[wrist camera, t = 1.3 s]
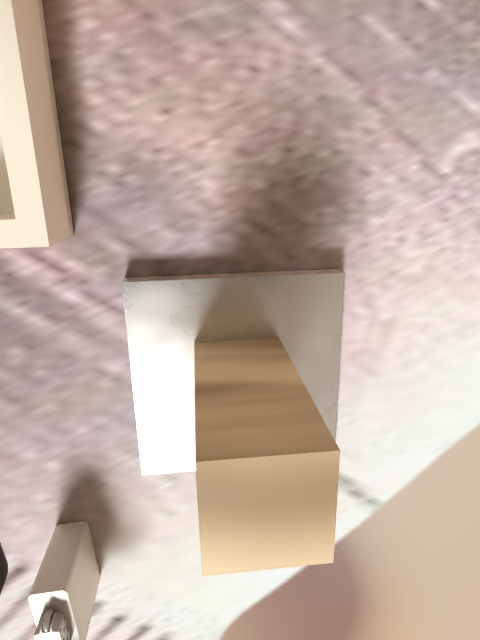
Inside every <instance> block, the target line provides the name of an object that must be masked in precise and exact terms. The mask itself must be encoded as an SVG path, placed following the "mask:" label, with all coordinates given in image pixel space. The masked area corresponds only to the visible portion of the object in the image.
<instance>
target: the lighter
mask: <svg viewBox="0 0 480 640" xmlns="http://www.w3.org/2000/svg"><path fill="white" fill-rule="evenodd" d="M99 580H100V572H99V567H98V563H97V559H96V554H95V550H94V546H93V542H92V537H91V533H90V529H89V524H88V523H87V522H86V521H79V522H72V523H64V524H58V525H57V526H56V528H55V531H54V533H53V536H52V538H51V541H50V543H49V546H48V549H47V551H46V554H45V556H44V559H43V561H42V564H41V566H40V569H39V572H38V574H37V577H36V579H35V582H34V584H33V587H32V589H31V592H30V595H29V597H28V600H29V604H30V607H31V610H32V613H33V617H34V620H35V623H36V626H37V628H36V631H35V634H34V639H35V640H86V636H87V632H88V627H89V623H90V619H91V614H92V610H93V606H94V601H95V597H96V593H97V588H98V584H99Z"/></svg>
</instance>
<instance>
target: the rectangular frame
mask: <svg viewBox="0 0 480 640" xmlns="http://www.w3.org/2000/svg"><path fill="white" fill-rule="evenodd" d="M72 235H74V232H73V225H72V217H71V210H70V203H69V195H68V188H67V181H66V173H65V166H64V159H63V151H62V144H61V137H60V129H59V122H58V115H57V107H56V100H55V93H54V85H53V78H52V70H51V63H50V56H49V48H48V41H47V34H46V26H45V19H44V12H43V4H42V0H0V248H23V247H49V246H51V245H54V244H56V243H58V242H60V241H62V240H64V239H66V238H68V237H70V236H72Z"/></svg>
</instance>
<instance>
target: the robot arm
mask: <svg viewBox="0 0 480 640" xmlns="http://www.w3.org/2000/svg"><path fill="white" fill-rule="evenodd" d="M7 574H8V563H7V560H6V557H5V554H4V552H3V549H2V546H1V543H0V594H1V592H2V589H3V586H4V584H5V581H6V578H7Z"/></svg>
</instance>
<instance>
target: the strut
mask: <svg viewBox="0 0 480 640" xmlns="http://www.w3.org/2000/svg"><path fill="white" fill-rule="evenodd" d="M194 375H195V465H196V481H197V498H198V514H199V531H200V547H201V564H202V576H208V575H218V574H228V573H237V572H247V571H257V570H266V569H276V568H286V567H295V566H305V565H315V564H324V563H333V558H334V541H335V525H336V508H337V491H338V474H339V457H340V450H339V448H338V446H337V444H336V442H335V440H334V439H333V437H332V435H331V433H330V431H329V429H328V427H327V426H326V424H325V422H324V420H323V418H322V416H321V415H320V413H319V411H318V409H317V407H316V405H315V403H314V402H313V400H312V398H311V396H310V394H309V392H308V390H307V389H306V387H305V385H304V383H303V381H302V379H301V377H300V376H299V374H298V372H297V370H296V368H295V366H294V364H293V363H292V361H291V359H290V357H289V355H288V353H287V351H286V350H285V348H284V346H283V344H282V342H281V340H280V338H273V339H255V340H237V341H219V342H200V343H194Z"/></svg>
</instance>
